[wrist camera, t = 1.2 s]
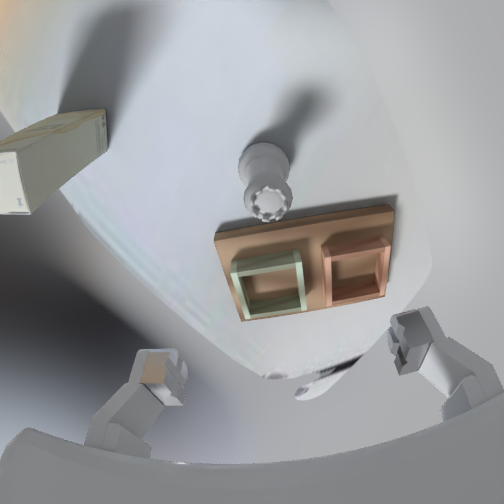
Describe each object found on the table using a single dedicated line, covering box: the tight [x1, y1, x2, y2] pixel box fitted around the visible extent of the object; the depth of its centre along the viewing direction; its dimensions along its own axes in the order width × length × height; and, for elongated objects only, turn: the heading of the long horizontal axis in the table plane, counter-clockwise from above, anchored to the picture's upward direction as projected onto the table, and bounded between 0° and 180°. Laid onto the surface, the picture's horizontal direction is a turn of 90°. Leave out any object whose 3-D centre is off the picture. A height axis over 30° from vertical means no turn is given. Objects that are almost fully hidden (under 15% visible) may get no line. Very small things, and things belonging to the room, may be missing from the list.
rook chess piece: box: [238, 142, 293, 222], centre depth 21 cm, size 4×4×8 cm
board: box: [214, 204, 394, 322], centre depth 30 cm, size 12×18×4 cm, turn 101°
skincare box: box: [0, 109, 108, 215], centre depth 17 cm, size 6×4×12 cm
